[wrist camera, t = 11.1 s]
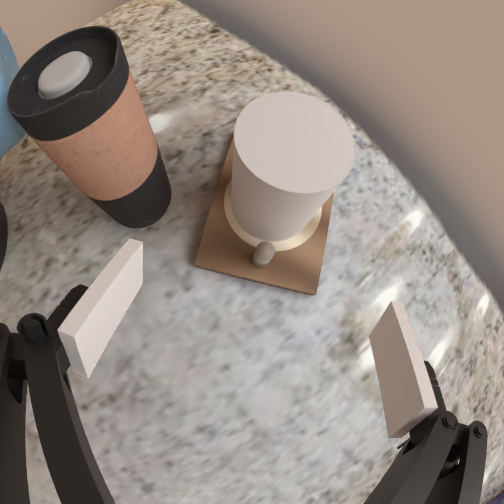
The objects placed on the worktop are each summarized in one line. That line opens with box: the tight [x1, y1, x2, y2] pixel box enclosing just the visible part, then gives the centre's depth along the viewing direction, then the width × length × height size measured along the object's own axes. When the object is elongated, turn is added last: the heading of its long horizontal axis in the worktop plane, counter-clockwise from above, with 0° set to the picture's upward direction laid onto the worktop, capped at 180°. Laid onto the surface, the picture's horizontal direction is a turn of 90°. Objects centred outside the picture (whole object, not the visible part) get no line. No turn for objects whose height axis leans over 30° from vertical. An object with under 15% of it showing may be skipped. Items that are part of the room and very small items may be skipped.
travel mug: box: [7, 26, 171, 228], centre depth 21 cm, size 8×8×20 cm
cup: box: [231, 91, 355, 242], centre depth 24 cm, size 8×8×12 cm
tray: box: [194, 135, 334, 295], centre depth 29 cm, size 16×12×5 cm
